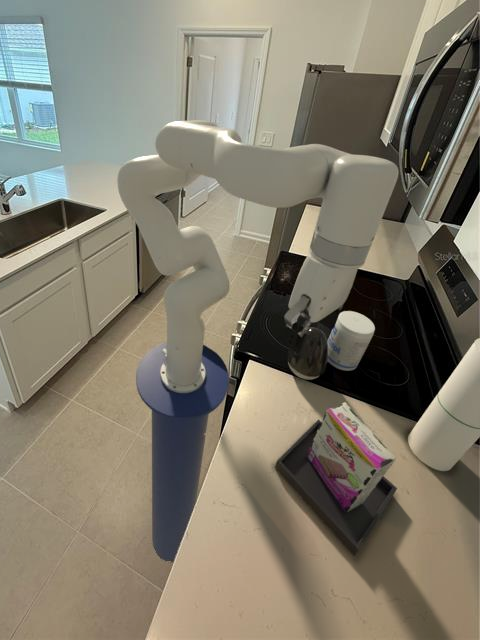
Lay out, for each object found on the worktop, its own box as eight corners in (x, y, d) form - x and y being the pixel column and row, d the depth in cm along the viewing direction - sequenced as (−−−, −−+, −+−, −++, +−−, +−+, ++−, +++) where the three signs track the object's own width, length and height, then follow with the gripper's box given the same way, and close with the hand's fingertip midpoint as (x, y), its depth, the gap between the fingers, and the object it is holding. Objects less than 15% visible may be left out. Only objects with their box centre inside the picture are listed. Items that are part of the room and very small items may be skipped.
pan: (274, 467, 64) (276, 460, 62) (315, 425, 72) (318, 419, 71) (354, 556, 52) (359, 550, 51) (392, 494, 61) (397, 488, 59)
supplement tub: (316, 350, 93) (329, 312, 86) (340, 344, 96) (356, 307, 89) (339, 376, 85) (356, 337, 78) (365, 368, 88) (384, 330, 81)
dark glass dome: (277, 371, 85) (289, 330, 78) (293, 350, 92) (305, 311, 85) (313, 393, 80) (329, 351, 72) (327, 369, 87) (343, 329, 80)
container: (447, 441, 71) (524, 347, 56) (458, 478, 64) (549, 383, 49) (405, 425, 74) (468, 332, 59) (411, 459, 67) (484, 363, 52)
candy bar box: (304, 456, 65) (325, 408, 57) (321, 447, 67) (344, 400, 59) (345, 516, 57) (377, 469, 49) (364, 504, 58) (398, 457, 50)
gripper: (344, 225, 51) (317, 306, 59) (279, 251, 41) (258, 343, 50) (392, 242, 46) (355, 328, 54) (330, 277, 36) (297, 374, 45)
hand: (308, 335), depth 52 cm, fingers open, 9 cm apart
